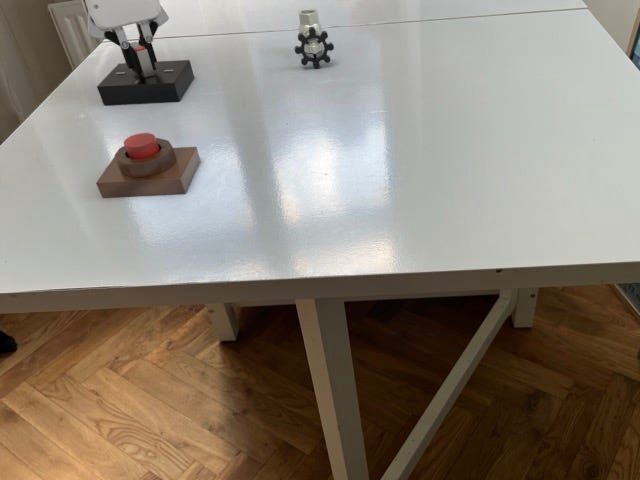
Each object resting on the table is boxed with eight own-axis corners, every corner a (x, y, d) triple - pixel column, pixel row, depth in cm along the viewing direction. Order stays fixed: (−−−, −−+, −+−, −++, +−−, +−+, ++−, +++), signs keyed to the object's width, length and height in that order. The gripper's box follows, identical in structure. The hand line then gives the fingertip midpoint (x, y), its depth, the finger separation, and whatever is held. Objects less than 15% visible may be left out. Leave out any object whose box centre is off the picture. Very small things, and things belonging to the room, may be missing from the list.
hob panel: (103, 105, 87) (96, 85, 85) (124, 81, 95) (118, 62, 92) (179, 101, 87) (173, 81, 85) (194, 77, 94) (189, 58, 92)
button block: (102, 199, 66) (89, 169, 63) (124, 165, 72) (113, 137, 69) (185, 195, 66) (176, 165, 63) (201, 161, 72) (192, 133, 69)
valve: (294, 48, 103) (297, 71, 95) (288, 9, 99) (291, 30, 90) (329, 44, 104) (335, 67, 95) (325, 6, 100) (331, 26, 91)
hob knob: (134, 69, 90) (125, 42, 87) (144, 66, 91) (135, 39, 88) (145, 77, 87) (136, 50, 84) (155, 75, 88) (146, 47, 85)
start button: (124, 161, 65) (119, 147, 64) (134, 146, 68) (129, 133, 67) (154, 159, 65) (150, 146, 64) (163, 145, 68) (158, 132, 67)
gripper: (146, -76, 82) (182, 52, 94) (33, -60, 75) (87, 76, 87) (164, -71, 77) (199, 63, 90) (45, -52, 71) (100, 90, 83)
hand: (143, 69), depth 88 cm, fingers closed on hob knob
